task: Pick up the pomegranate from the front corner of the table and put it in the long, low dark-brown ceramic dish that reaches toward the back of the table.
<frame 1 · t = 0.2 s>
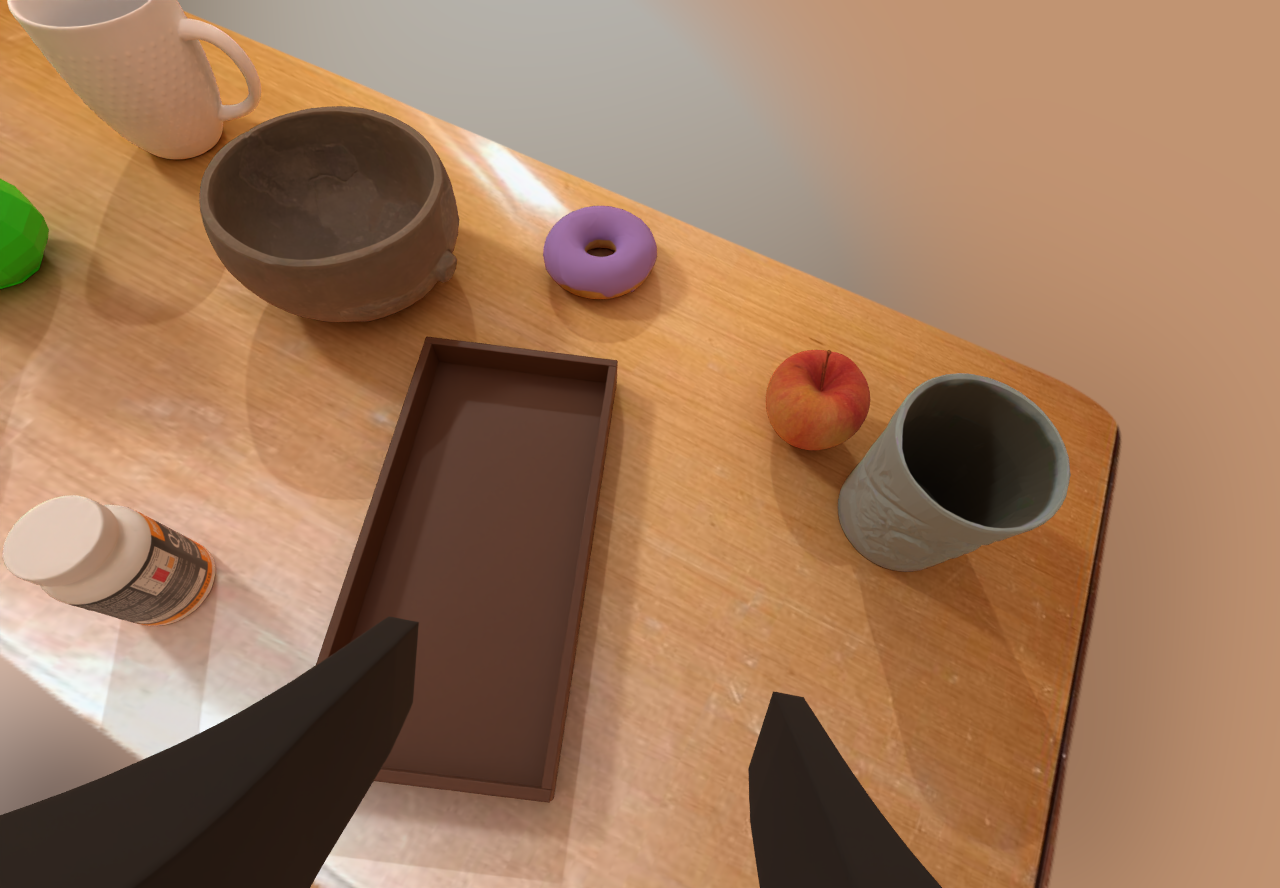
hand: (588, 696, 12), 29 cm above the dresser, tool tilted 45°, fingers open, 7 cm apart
bowl: (366, 274, 54), on the dresser
plastic bottle: (9, 267, 52), on the dresser
brown dish: (485, 544, 43), on the dresser
mug: (198, 139, 60), on the dresser
gray cup: (893, 520, 46), on the dresser
donut: (600, 268, 55), on the dresser
apple: (799, 427, 49), on the dresser
pill bottle: (174, 584, 41), on the dresser
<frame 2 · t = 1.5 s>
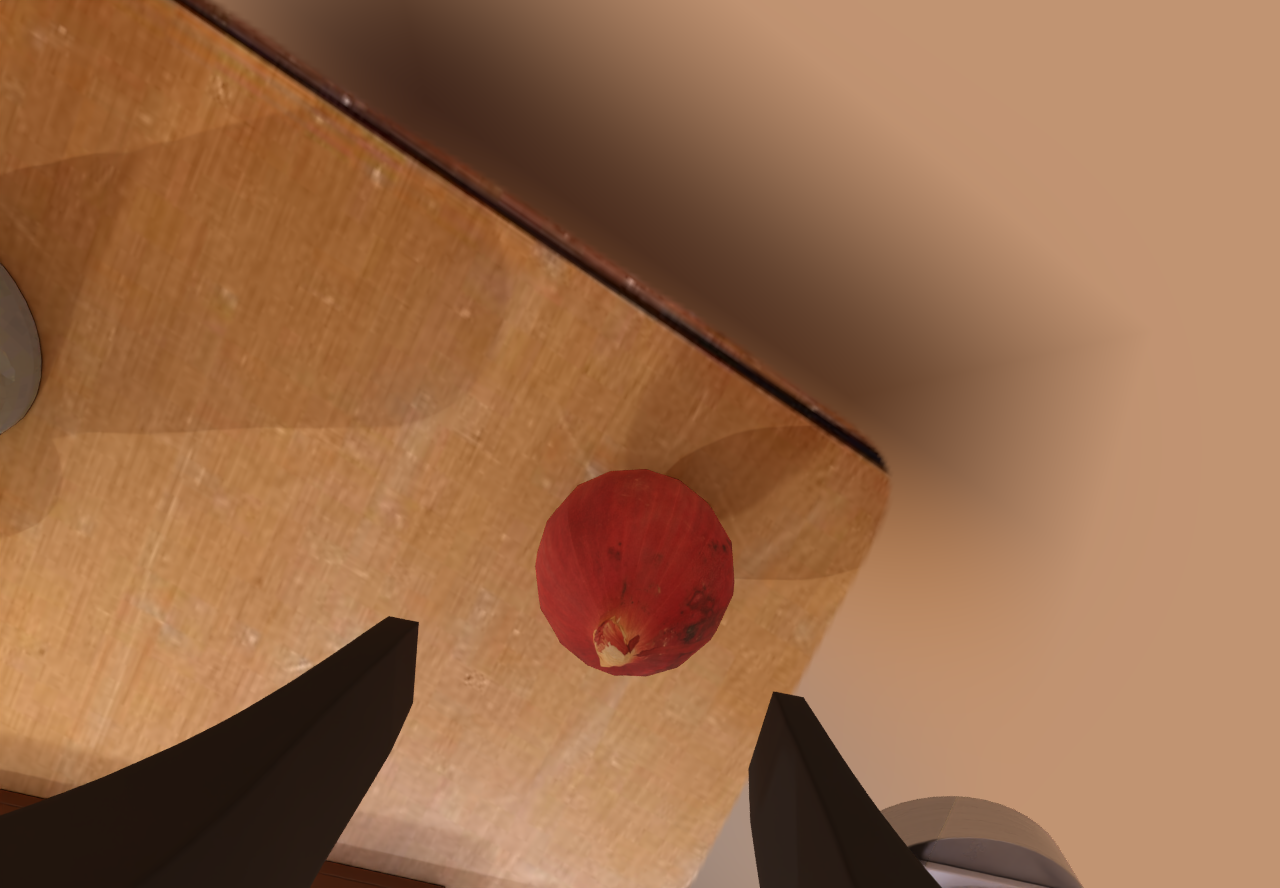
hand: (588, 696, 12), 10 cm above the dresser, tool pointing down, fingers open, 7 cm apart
pomegranate: (644, 514, 22), on the dresser
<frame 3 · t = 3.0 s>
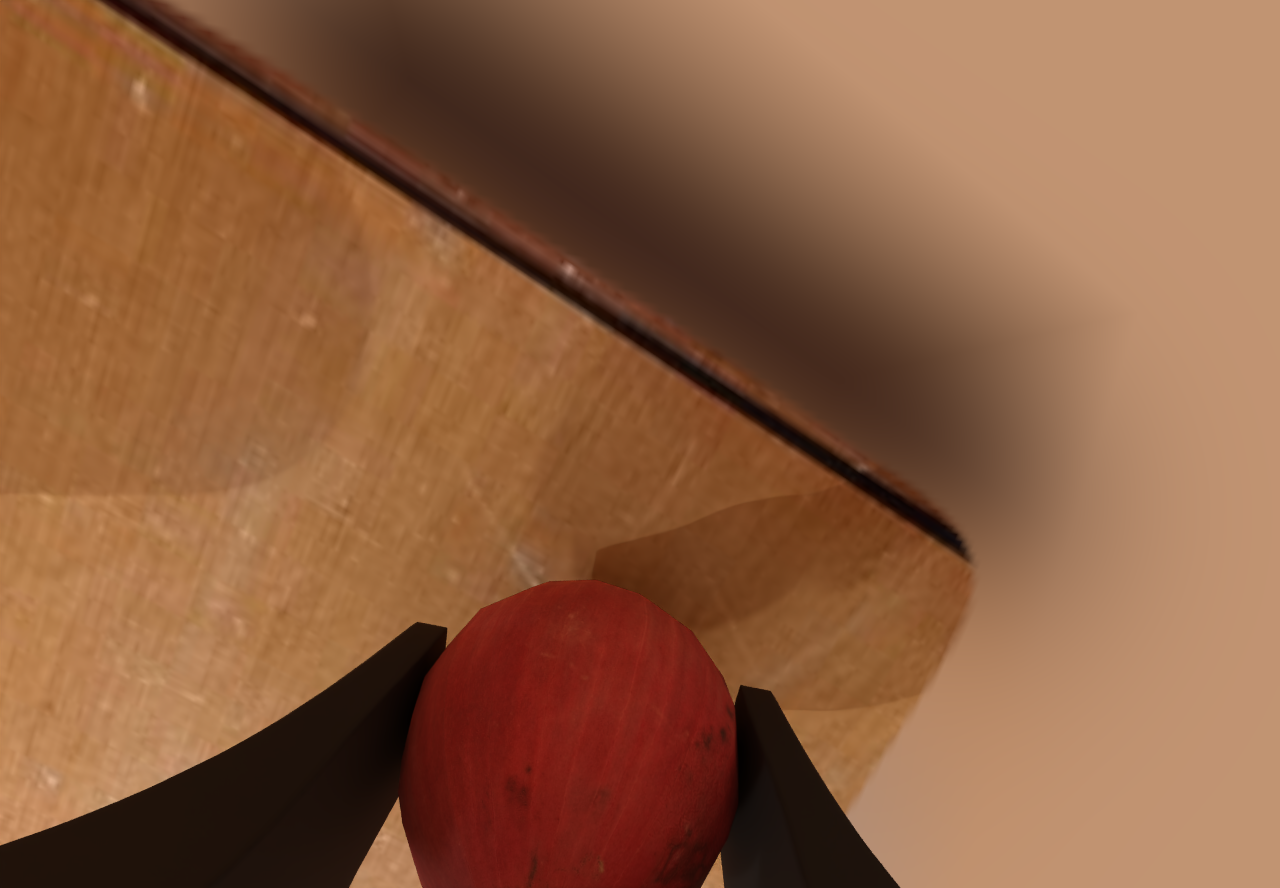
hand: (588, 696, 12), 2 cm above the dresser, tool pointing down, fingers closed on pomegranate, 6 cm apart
pomegranate: (602, 618, 15), on the dresser, touching gripper
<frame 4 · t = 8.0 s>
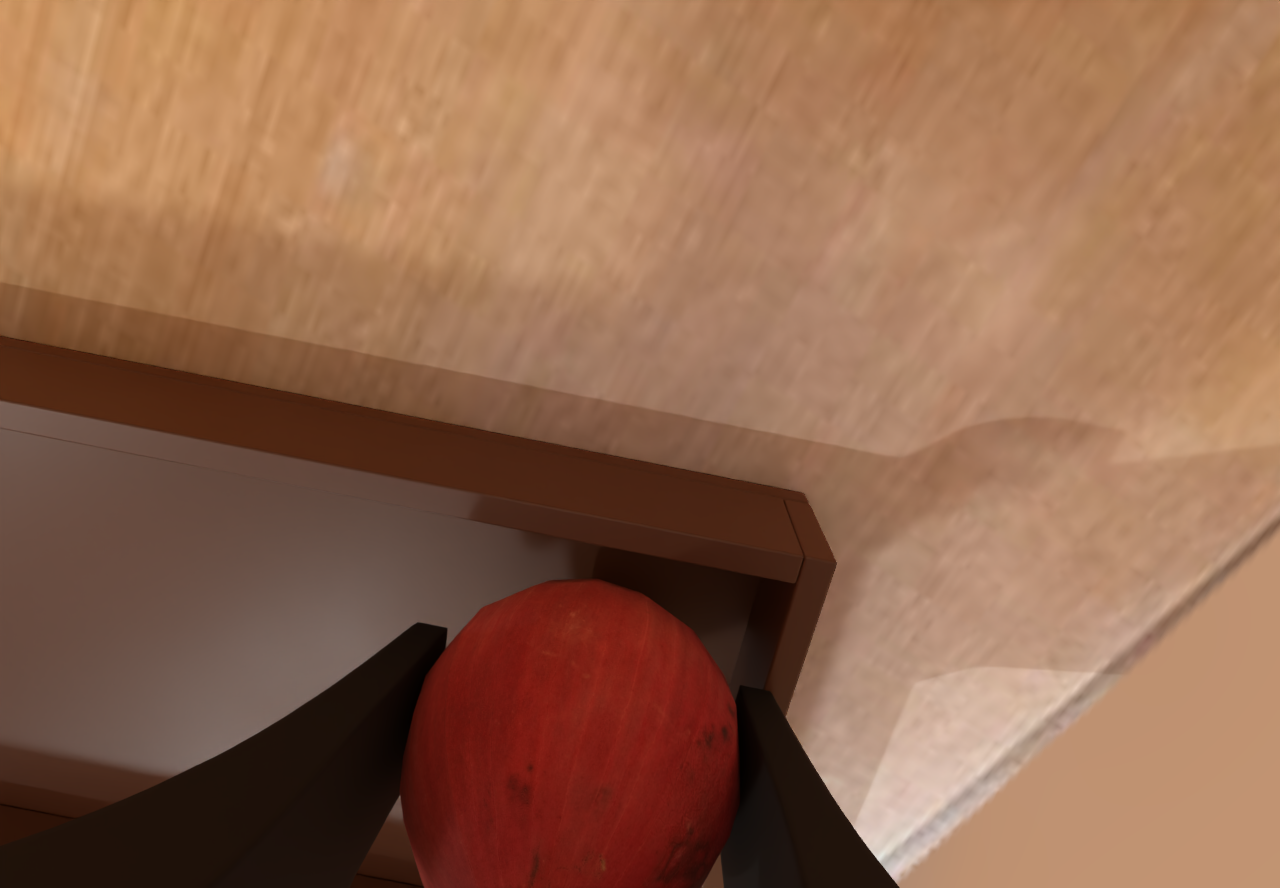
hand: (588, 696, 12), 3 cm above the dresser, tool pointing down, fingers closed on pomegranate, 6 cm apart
brown dish: (183, 636, 16), on the dresser
pomegranate: (602, 617, 15), resting on brown dish, touching gripper
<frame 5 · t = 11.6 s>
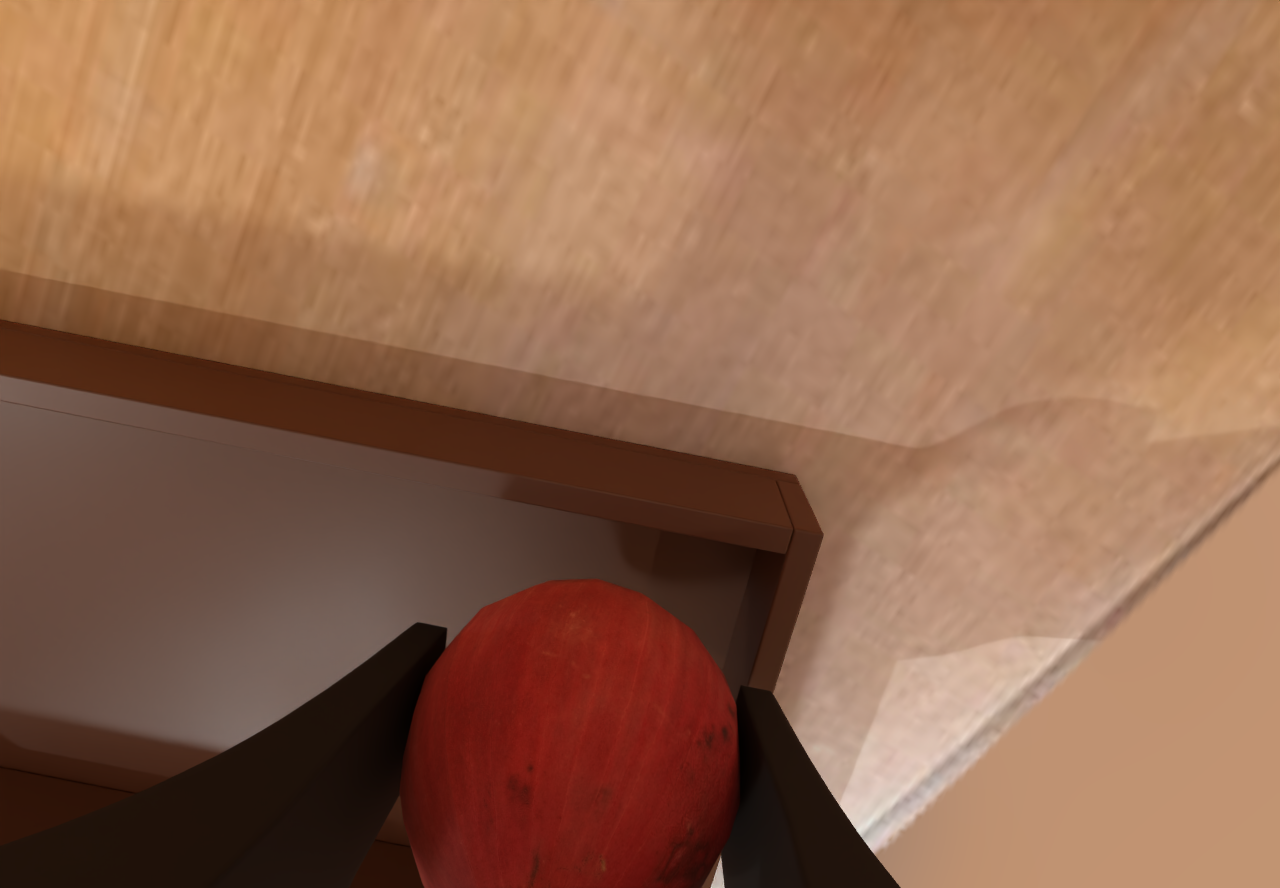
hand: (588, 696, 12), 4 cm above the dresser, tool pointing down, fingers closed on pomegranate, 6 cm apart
brown dish: (212, 612, 17), on the dresser
pomegranate: (602, 617, 15), point 2 cm above the dresser, touching gripper
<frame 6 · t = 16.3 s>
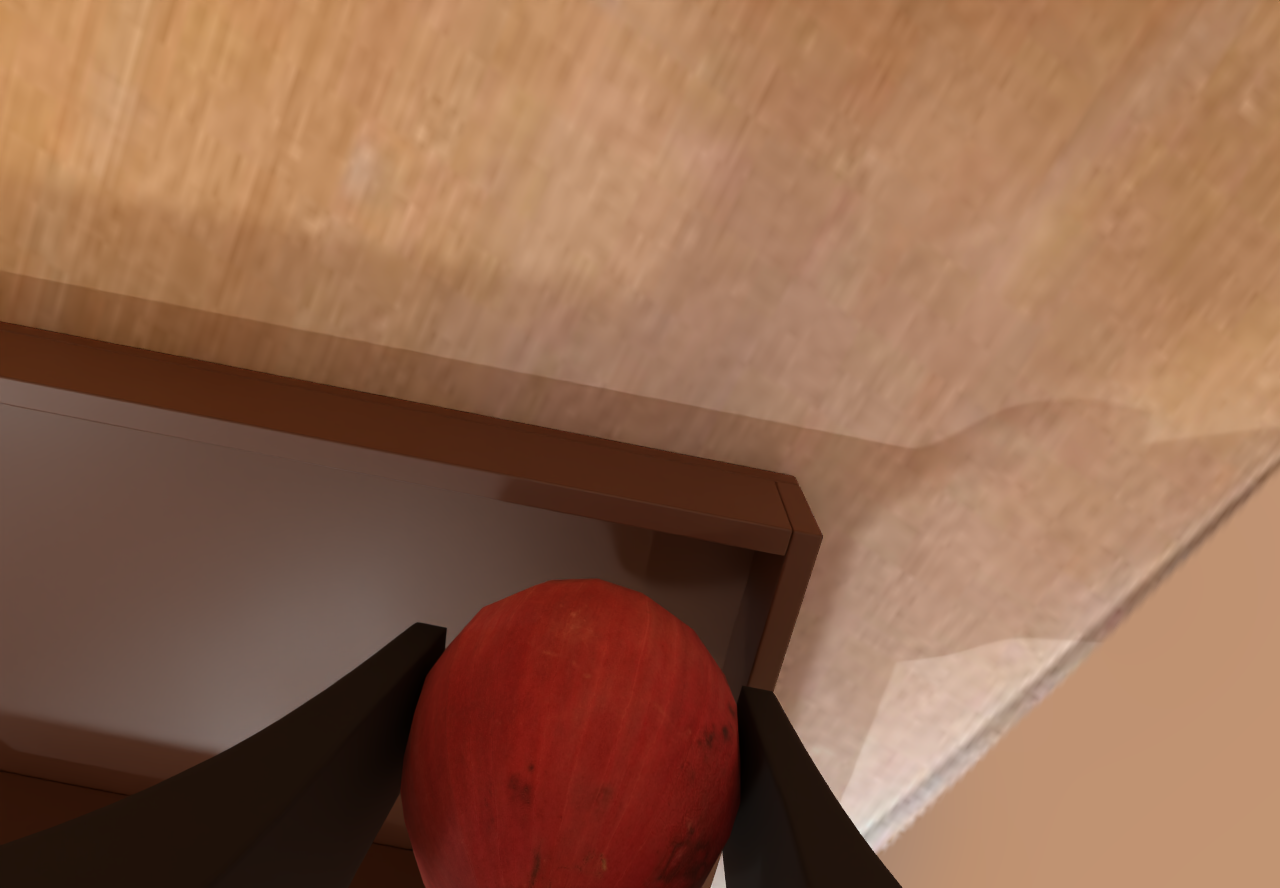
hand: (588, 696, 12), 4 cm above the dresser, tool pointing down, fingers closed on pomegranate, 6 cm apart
brown dish: (208, 614, 17), on the dresser
pomegranate: (603, 616, 15), point 1 cm above the dresser, touching gripper
when the fingers open (5 cm above the dresser, at t = 20.5 s): pomegranate drops 2 cm, resting on brown dish.
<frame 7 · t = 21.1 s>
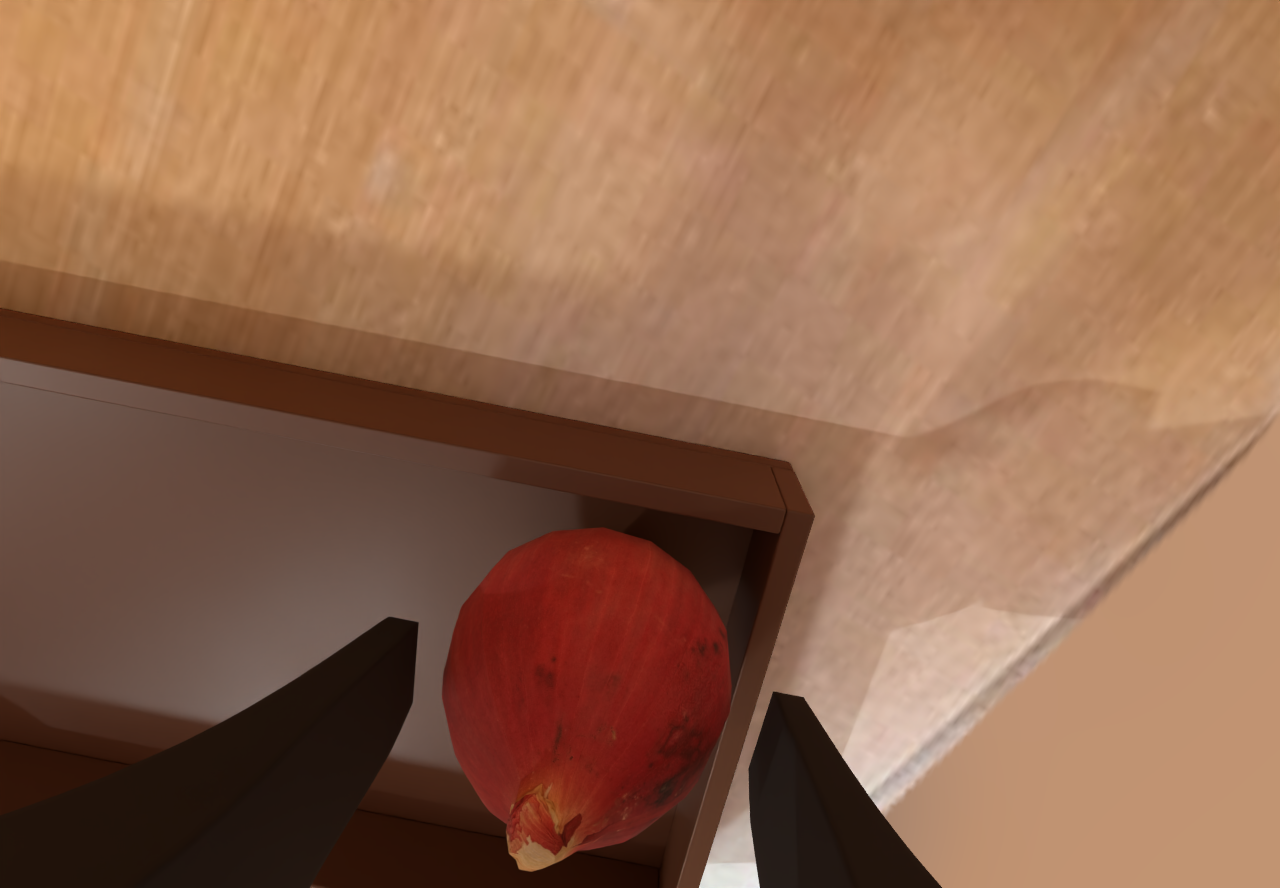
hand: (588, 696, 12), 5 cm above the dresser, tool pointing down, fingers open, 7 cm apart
brown dish: (233, 595, 18), on the dresser
pomegranate: (611, 575, 16), resting on brown dish
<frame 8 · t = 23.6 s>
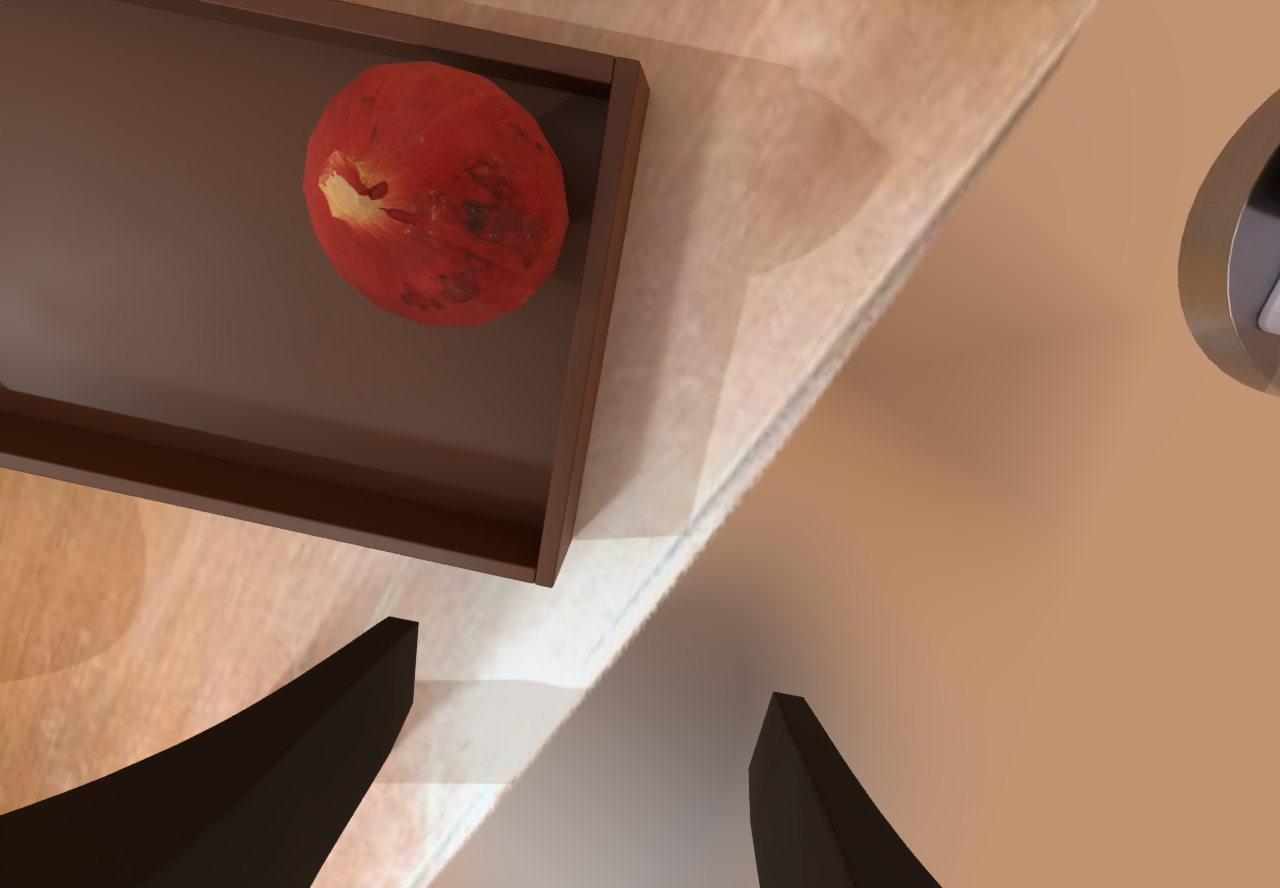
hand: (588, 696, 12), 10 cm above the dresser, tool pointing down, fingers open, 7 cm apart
brown dish: (167, 251, 20), on the dresser
pomegranate: (495, 208, 18), resting on brown dish
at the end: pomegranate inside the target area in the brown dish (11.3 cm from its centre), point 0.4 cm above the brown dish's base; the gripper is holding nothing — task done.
